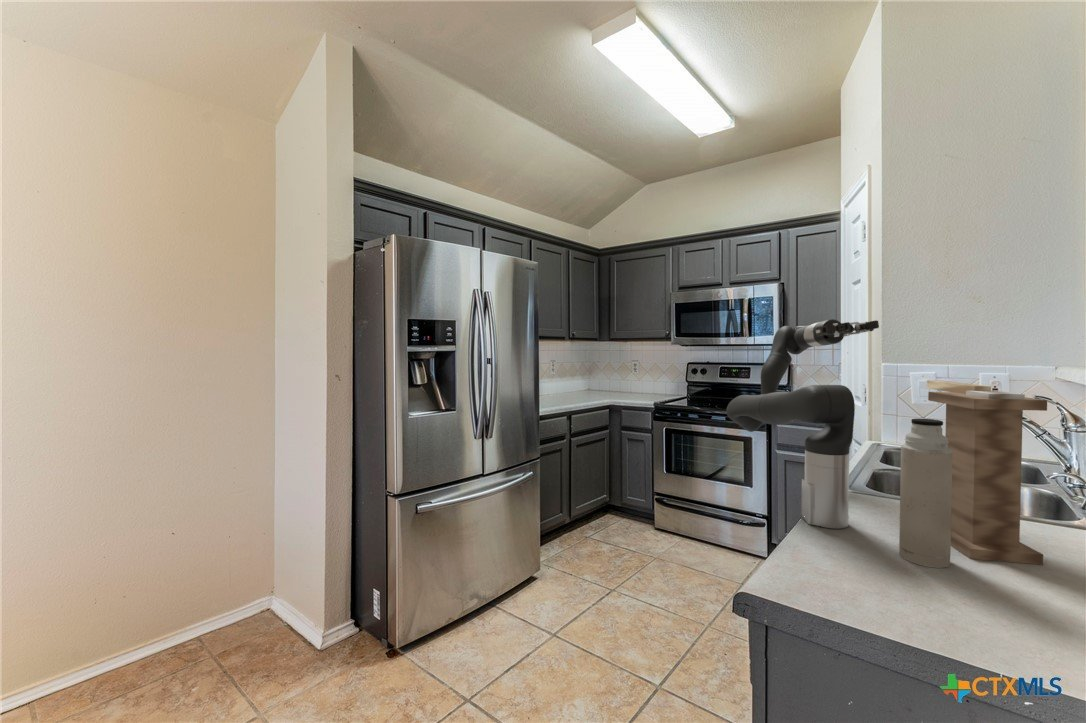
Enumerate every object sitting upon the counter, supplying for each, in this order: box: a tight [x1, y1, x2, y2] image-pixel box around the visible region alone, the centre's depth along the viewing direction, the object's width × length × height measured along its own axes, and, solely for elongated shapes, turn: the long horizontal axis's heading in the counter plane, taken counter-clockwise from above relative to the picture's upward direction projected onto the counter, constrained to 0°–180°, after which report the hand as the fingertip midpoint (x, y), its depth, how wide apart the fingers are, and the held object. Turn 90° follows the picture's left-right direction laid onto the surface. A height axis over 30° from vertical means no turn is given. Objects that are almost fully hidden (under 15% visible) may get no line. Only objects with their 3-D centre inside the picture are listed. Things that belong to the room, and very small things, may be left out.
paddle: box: [926, 379, 1026, 399], centre depth 106 cm, size 6×25×2 cm, turn 167°
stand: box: [927, 391, 1048, 566], centre depth 102 cm, size 12×16×32 cm
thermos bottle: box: [898, 418, 953, 569], centre depth 95 cm, size 8×8×28 cm
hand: (863, 325), depth 132 cm, fingers open, 8 cm apart
